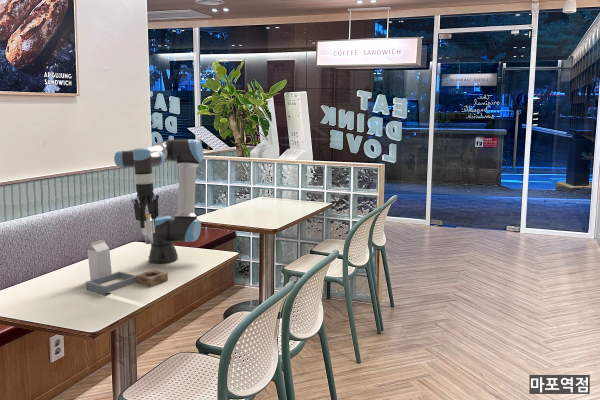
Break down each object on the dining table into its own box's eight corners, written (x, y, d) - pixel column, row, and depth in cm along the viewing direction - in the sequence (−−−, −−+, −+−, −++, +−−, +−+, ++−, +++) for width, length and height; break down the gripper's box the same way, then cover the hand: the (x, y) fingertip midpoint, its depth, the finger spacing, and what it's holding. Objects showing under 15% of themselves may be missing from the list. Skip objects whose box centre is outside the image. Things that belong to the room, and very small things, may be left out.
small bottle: (150, 241, 251) (147, 213, 248) (155, 242, 249) (152, 213, 246) (143, 243, 248) (141, 214, 245) (148, 244, 246) (146, 215, 243)
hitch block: (154, 279, 258) (153, 269, 258) (168, 283, 253) (167, 273, 252) (136, 285, 251) (135, 275, 250) (150, 289, 245) (150, 279, 244)
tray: (120, 279, 261) (119, 271, 260) (139, 284, 253) (138, 276, 252) (86, 290, 247) (85, 281, 246) (105, 296, 238) (104, 287, 238)
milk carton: (112, 278, 262) (108, 240, 259) (99, 282, 257) (95, 243, 253) (102, 276, 266) (99, 238, 263) (90, 280, 261) (86, 242, 257)
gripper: (153, 179, 252) (157, 229, 256) (123, 185, 239) (128, 236, 243) (164, 180, 247) (168, 230, 252) (134, 186, 234) (138, 238, 239)
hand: (148, 233), depth 247 cm, fingers closed on small bottle, 3 cm apart
